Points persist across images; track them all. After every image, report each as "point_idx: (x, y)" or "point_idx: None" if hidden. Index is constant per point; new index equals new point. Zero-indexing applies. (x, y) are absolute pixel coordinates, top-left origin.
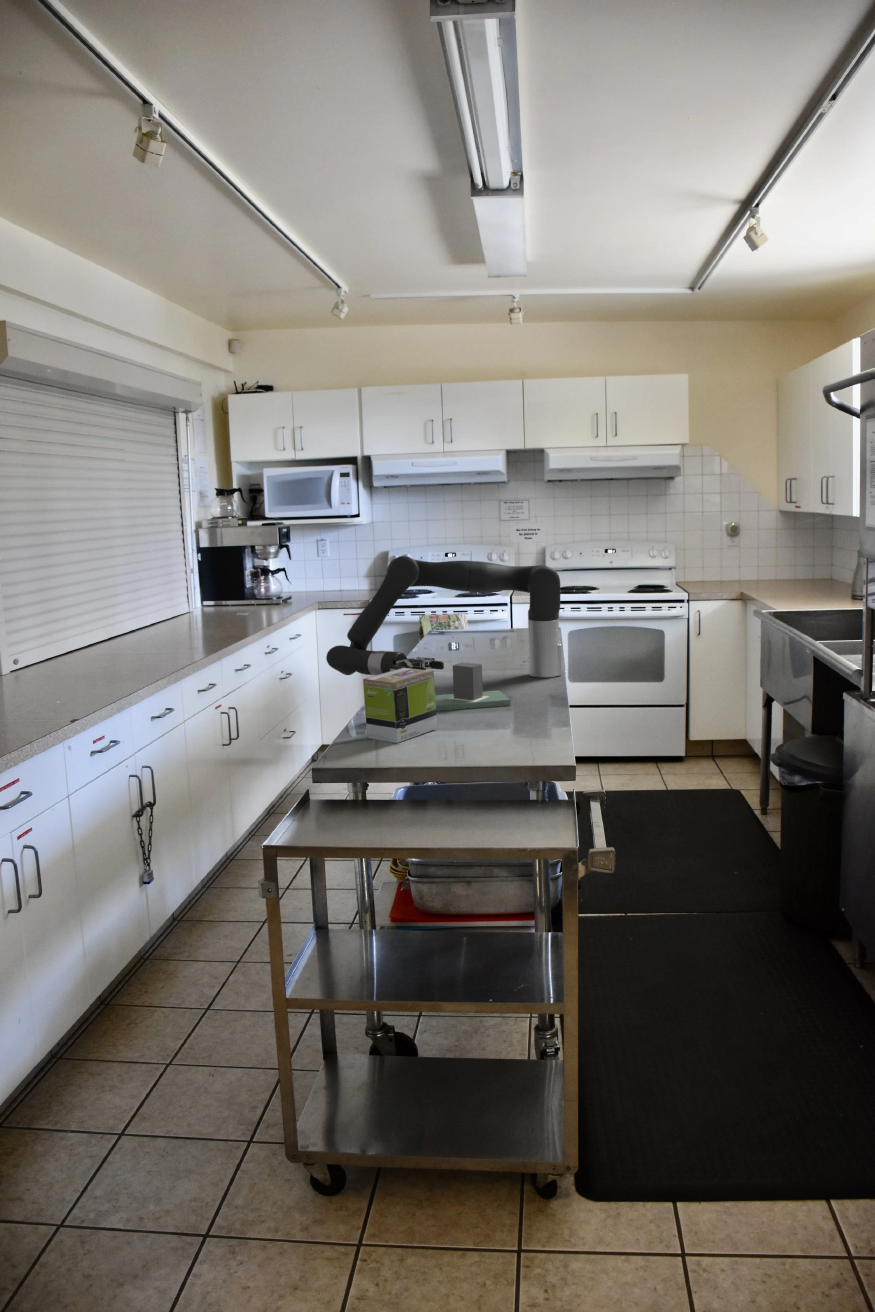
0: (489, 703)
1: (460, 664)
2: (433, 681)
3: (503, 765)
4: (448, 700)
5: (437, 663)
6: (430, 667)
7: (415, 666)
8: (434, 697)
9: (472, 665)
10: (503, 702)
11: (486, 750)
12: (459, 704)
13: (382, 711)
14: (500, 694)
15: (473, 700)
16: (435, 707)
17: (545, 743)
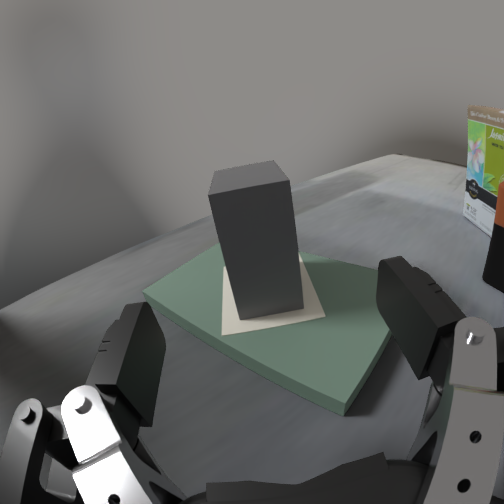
0: None
1: (254, 180)
2: (469, 125)
3: (435, 161)
4: (341, 299)
5: (140, 342)
6: (138, 438)
7: (440, 310)
8: (469, 156)
9: (248, 168)
10: None
11: (432, 173)
12: (344, 264)
13: None
14: (187, 267)
15: None
16: (467, 175)
17: (368, 167)
